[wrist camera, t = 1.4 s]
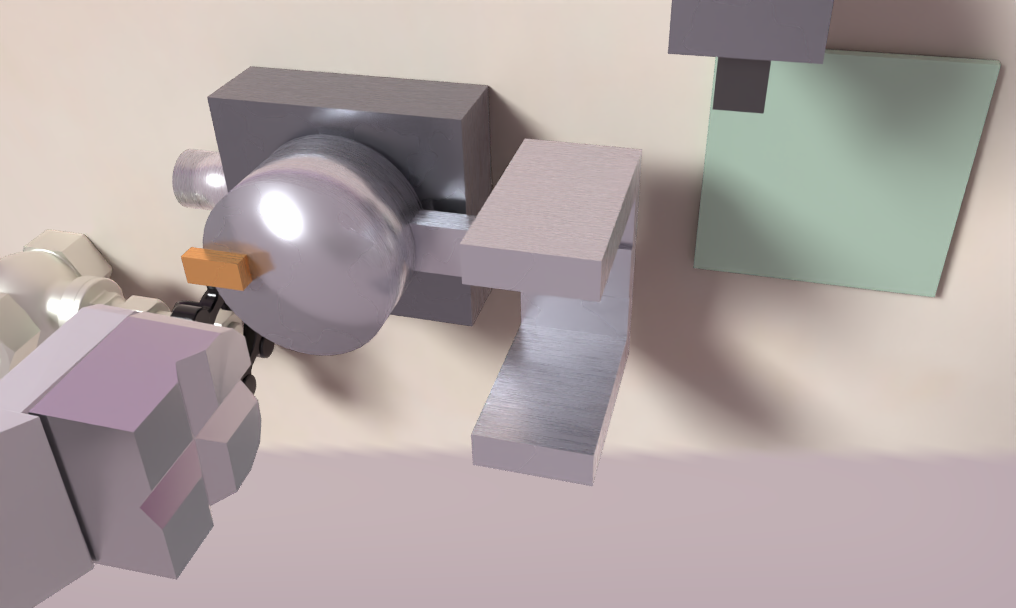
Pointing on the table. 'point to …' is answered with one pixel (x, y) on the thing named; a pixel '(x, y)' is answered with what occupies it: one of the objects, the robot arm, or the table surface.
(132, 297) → the valve
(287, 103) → the block
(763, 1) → the grey tabbed block
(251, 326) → the silver rounded housing
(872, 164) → the felt pad
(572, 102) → the table surface
